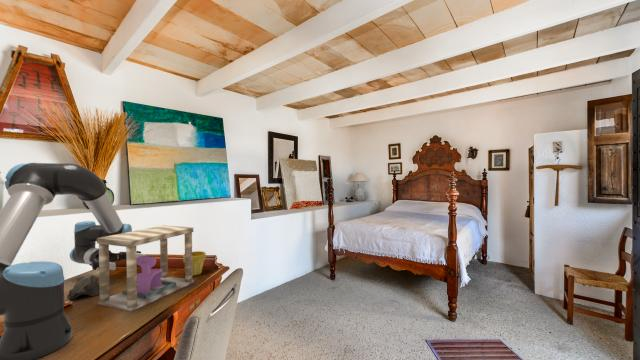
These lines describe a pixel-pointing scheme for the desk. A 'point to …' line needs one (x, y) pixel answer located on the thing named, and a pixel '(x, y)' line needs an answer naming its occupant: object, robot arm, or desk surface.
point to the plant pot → (197, 261)
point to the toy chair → (147, 274)
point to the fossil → (85, 287)
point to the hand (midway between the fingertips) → (131, 261)
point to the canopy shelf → (130, 240)
